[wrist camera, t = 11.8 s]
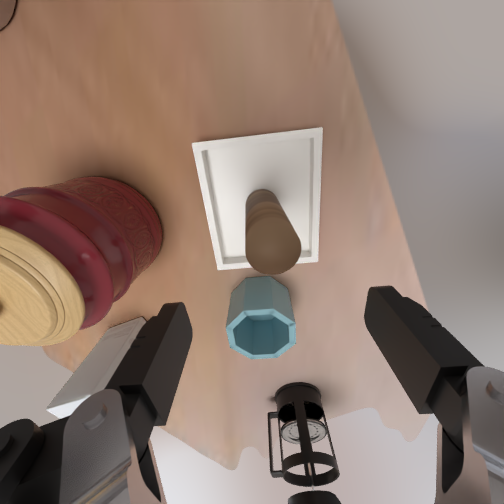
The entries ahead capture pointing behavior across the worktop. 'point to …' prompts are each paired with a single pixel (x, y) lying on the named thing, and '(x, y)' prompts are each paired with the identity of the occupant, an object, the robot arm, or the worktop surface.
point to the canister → (70, 256)
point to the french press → (303, 442)
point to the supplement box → (96, 368)
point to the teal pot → (260, 319)
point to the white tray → (260, 187)
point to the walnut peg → (269, 234)
